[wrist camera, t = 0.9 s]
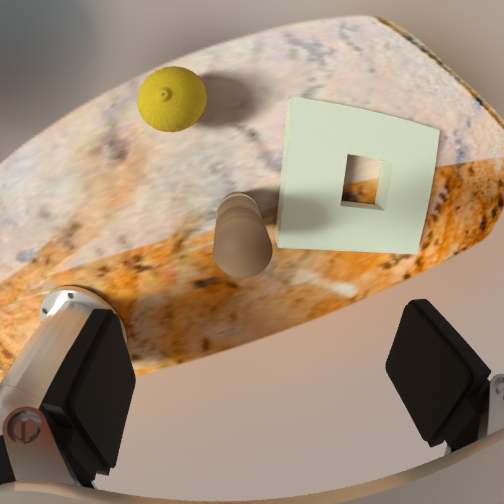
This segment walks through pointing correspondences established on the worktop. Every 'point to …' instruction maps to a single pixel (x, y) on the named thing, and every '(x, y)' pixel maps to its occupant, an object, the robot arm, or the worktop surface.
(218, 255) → the peg
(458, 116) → the worktop surface
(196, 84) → the lemon
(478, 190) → the worktop surface
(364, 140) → the board
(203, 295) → the worktop surface
